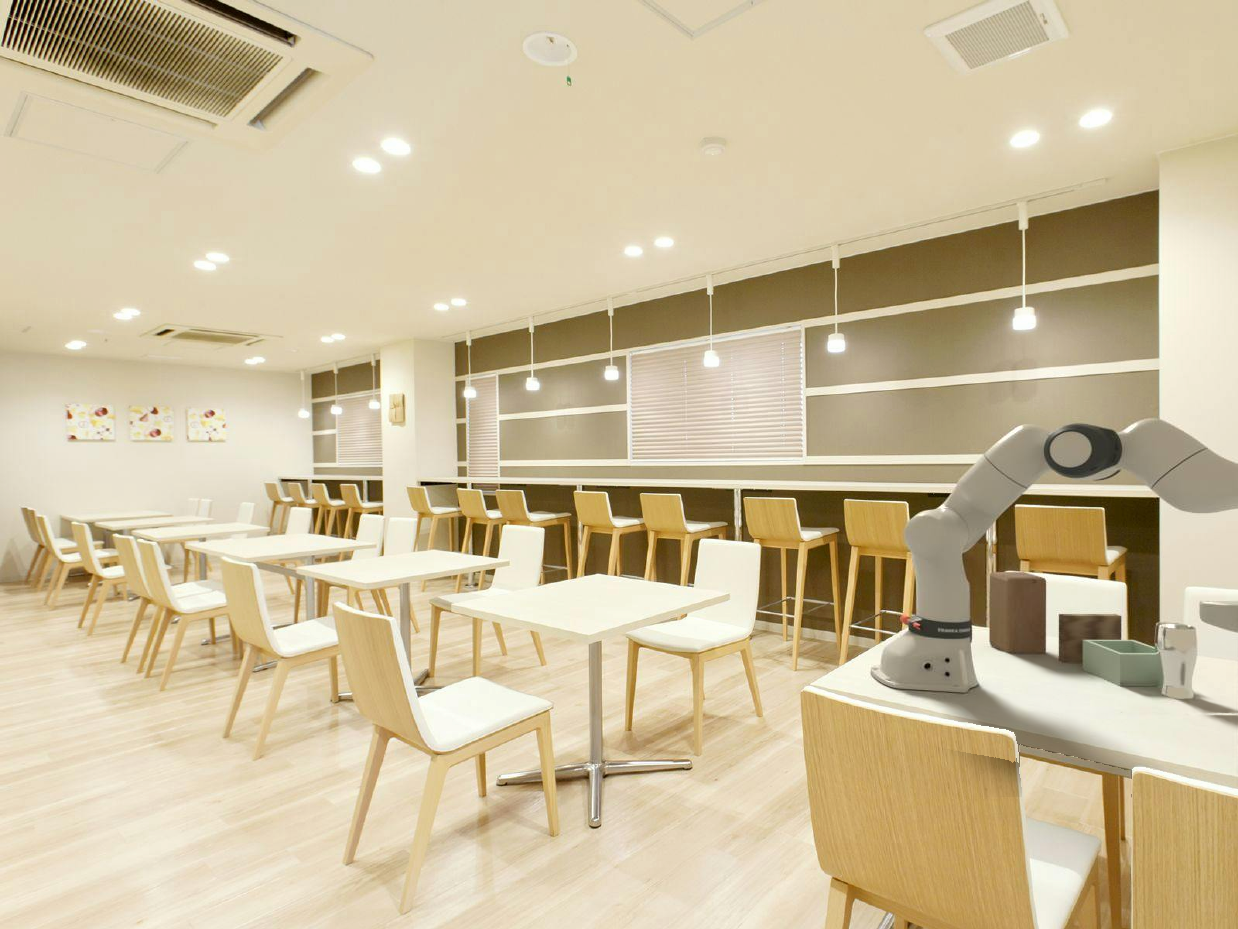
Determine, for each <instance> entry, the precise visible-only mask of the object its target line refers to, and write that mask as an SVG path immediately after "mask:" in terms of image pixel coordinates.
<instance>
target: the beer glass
mask: <svg viewBox="0 0 1238 929" xmlns="http://www.w3.org/2000/svg"><path fill="white" fill-rule="evenodd" d="M1154 647H1155V653H1156V659H1157V664H1158V668H1159V676H1160V679H1159V685H1158V686H1157V690H1156V691H1157V693H1158V694H1159V695H1162V696H1165V697H1169V698H1173V699H1178V700H1193V699H1195V694H1194V689H1193V675H1194V671H1195V667H1196V663H1197V658H1198V657H1197V656H1198V639H1197V628H1196V627H1195V626H1192V625H1189V624H1184V623H1179V622H1178V623H1177V622H1167V621H1166V622H1165V621H1164V622H1156V623H1155V632H1154Z"/></svg>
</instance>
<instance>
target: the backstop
mask: <svg viewBox="0 0 1238 929" xmlns="http://www.w3.org/2000/svg"><path fill="white" fill-rule="evenodd" d="M1083 640H1122V615H1119V614H1116V613H1059V614H1058V661H1059V662H1061V663H1063V664H1083Z"/></svg>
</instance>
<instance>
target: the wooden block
mask: <svg viewBox="0 0 1238 929" xmlns="http://www.w3.org/2000/svg"><path fill="white" fill-rule="evenodd" d="M988 596H989V604H988V605H989V609H988V610H989V615H988V617H989V621H988V622H989V629H988V630H989V631H988V632H989V638H988V639H989V641H988V642H989V644H990V646H993V647H994V648H996V649H998V650H1000V651H1002V652H1005V653H1007V654H1011V655H1012V654H1017V655H1019V654H1020V655H1021V654H1026V655H1027V654H1033V655H1035V654H1037V655H1038V654H1039V655H1041V654H1046V653H1047V580H1046V578H1044V577H1043V576H1039V575H1034V574H1032V573H1028V572H1024V571H1000V572H999V571H993V572H989V595H988Z"/></svg>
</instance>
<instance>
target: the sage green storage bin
mask: <svg viewBox="0 0 1238 929" xmlns="http://www.w3.org/2000/svg"><path fill="white" fill-rule="evenodd" d="M1082 670H1083V671H1085V672H1088V673H1089V674H1093V675H1095V676H1096V677H1098V678H1101V679H1103V680H1106V681H1107V682H1110V683H1112V684H1114V685H1117V686H1118V687H1158V685H1159V679H1160V676H1159V668H1158V664H1157V659H1156V653H1155V646H1152V645H1149V644H1146V643H1143V642H1141V641H1138V640H1135V639H1121V640H1083V663H1082Z"/></svg>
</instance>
